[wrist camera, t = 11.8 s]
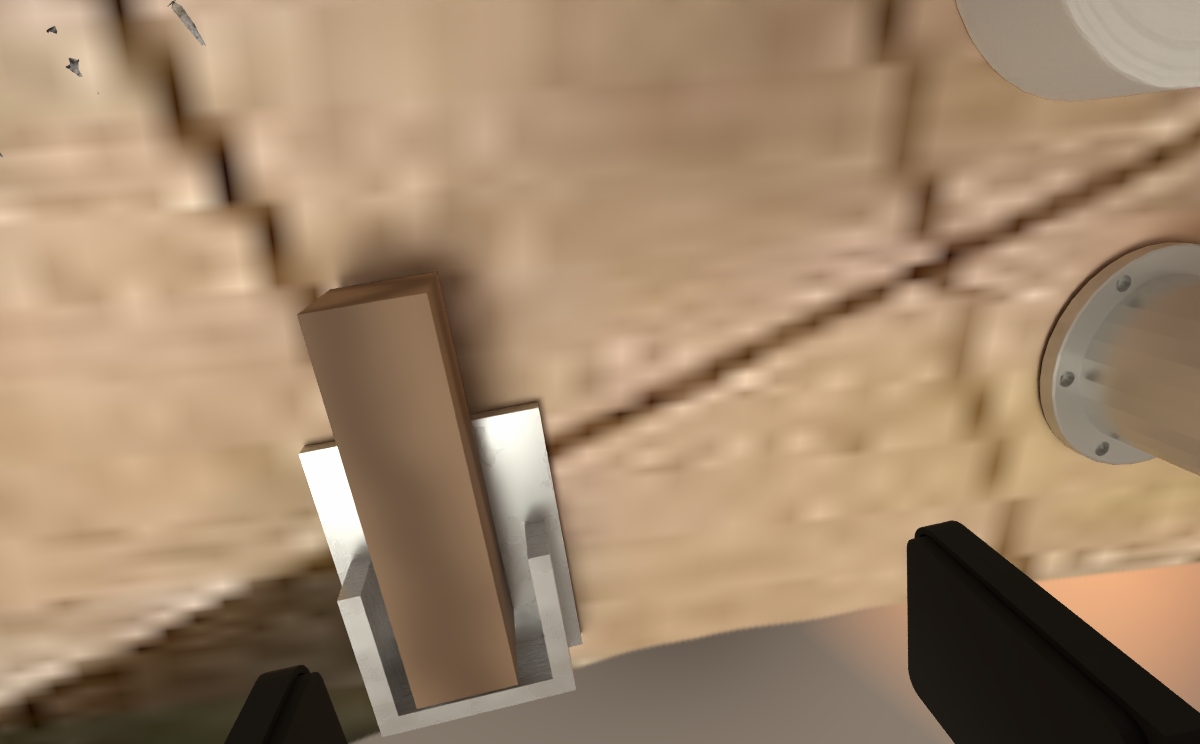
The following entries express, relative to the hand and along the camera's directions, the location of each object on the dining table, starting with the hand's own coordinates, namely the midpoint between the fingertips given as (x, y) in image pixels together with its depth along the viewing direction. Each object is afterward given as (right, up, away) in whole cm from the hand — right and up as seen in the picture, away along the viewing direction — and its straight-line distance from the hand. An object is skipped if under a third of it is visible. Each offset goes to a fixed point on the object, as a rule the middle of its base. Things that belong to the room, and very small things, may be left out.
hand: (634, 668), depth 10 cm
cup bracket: (-8, -4, +22) cm, 24 cm away
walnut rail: (-8, 0, +20) cm, 22 cm away
